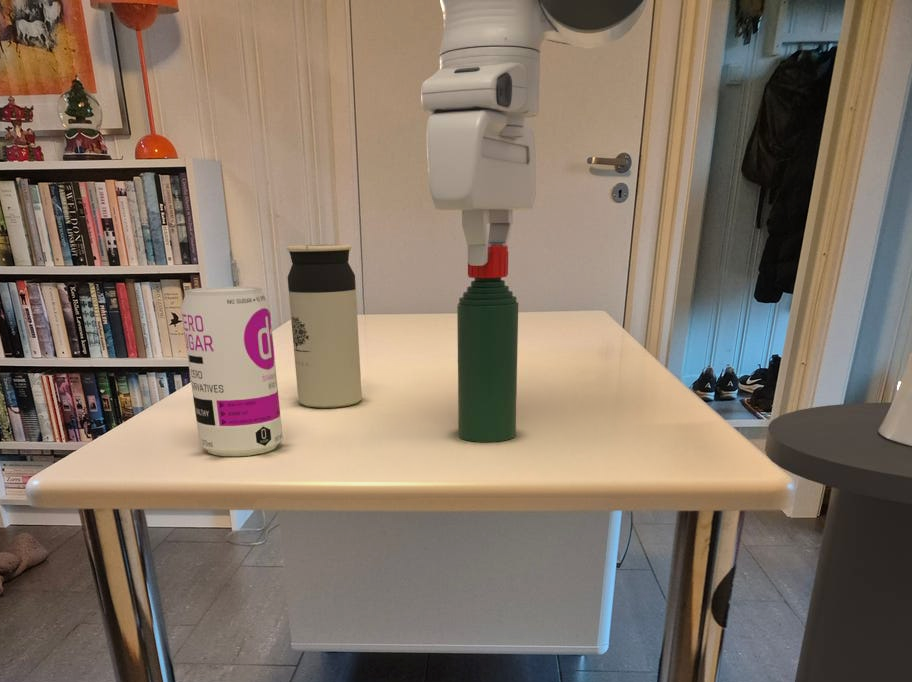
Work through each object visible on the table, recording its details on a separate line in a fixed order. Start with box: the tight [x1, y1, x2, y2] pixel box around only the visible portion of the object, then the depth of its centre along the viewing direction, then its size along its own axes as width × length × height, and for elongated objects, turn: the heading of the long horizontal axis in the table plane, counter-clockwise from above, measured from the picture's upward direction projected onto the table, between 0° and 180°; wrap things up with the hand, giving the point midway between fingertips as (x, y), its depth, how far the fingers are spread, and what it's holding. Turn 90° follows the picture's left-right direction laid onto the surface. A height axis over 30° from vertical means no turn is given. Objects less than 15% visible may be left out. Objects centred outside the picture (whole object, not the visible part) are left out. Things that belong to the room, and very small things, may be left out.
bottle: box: [456, 277, 519, 443], centre depth 86 cm, size 6×6×18 cm
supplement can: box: [180, 285, 283, 457], centre depth 83 cm, size 8×8×15 cm
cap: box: [467, 245, 509, 279], centre depth 82 cm, size 4×4×3 cm
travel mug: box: [286, 243, 363, 409], centre depth 104 cm, size 8×8×18 cm
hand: (487, 264), depth 82 cm, fingers closed on cap, 4 cm apart
